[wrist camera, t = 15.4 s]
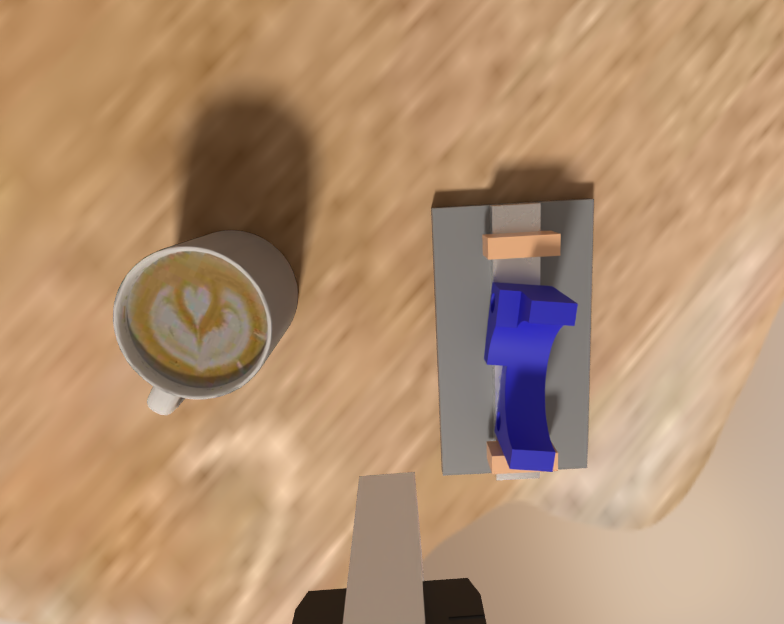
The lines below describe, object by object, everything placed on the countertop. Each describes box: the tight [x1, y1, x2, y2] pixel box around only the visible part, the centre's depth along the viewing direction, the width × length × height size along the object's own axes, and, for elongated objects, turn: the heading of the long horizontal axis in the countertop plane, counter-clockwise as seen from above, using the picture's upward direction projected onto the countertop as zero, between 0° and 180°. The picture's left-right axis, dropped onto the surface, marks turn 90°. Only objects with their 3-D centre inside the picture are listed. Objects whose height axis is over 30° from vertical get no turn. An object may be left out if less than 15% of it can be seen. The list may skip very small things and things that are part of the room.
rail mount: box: [431, 199, 594, 480], centre depth 44 cm, size 22×12×5 cm, turn 3°
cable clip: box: [484, 282, 578, 472], centre depth 41 cm, size 12×4×6 cm, turn 176°
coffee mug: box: [113, 230, 298, 415], centre depth 41 cm, size 13×10×10 cm
